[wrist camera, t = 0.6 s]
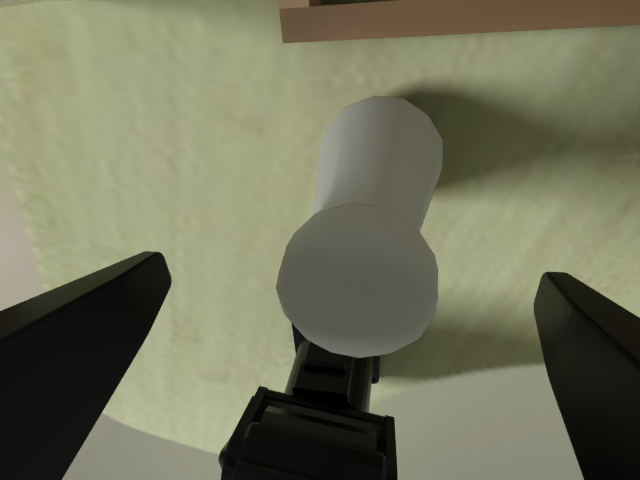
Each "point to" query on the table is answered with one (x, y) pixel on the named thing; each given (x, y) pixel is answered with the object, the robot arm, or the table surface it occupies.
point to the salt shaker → (367, 233)
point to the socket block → (445, 17)
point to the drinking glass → (21, 2)
